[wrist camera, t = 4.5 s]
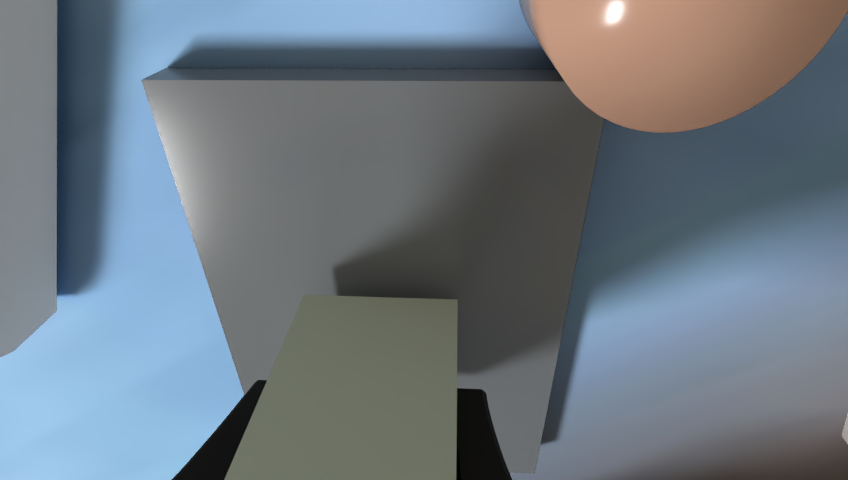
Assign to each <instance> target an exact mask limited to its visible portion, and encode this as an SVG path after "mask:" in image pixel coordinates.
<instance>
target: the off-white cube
mask: <svg viewBox="0 0 848 480" xmlns="http://www.w3.org/2000/svg"><path fill="white" fill-rule="evenodd" d="M842 437H843V438H844V440H845V441H846V442H847V444H848V414H847V418H846V421H845V425H844V429H843V432H842Z"/></svg>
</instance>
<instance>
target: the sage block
mask: <svg viewBox="0 0 848 480" xmlns="http://www.w3.org/2000/svg"><path fill="white" fill-rule="evenodd" d="M457 318H458V300H457V299H424V298H392V297H360V296H328V295H304V296H303V299H302V301H301V303H300V306H299V308H298V310H297V312H296V315H295V317H294V319H293V322H292V324H291V326H290V329H289V331H288V333H287V336H286V338H285V340H284V343H283V345H282V347H281V350H280V352H279V354H278V356H277V359H276V361H275V363H274V366H273V368H272V370H271V373H270V375H269V377H268V380H267V382H266V384H265V387H264V389H263V391H262V394H261V396H260V398H259V400H258V403H257V405H256V407H255V410H254V412H253V414H252V417H251V419H250V421H249V424H248V426H247V428H246V431H245V433H244V435H243V437H242V440H241V442H240V444H239V447H238V449H237V451H236V454H235V456H234V458H233V461H232V463H231V465H230V468H229V470H228V472H227V475H226V477H225V479H224V480H456V456H457Z"/></svg>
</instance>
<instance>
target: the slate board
mask: <svg viewBox="0 0 848 480" xmlns="http://www.w3.org/2000/svg"><path fill="white" fill-rule="evenodd" d="M142 83H143V86H144V89H145V92H146V95H147V98H148V101H149V104H150V107H151V110H152V113H153V116H154V119H155V123H156V126H157V129H158V132H159V135H160V138H161V141H162V144H163V147H164V150H165V153H166V156H167V159H168V162H169V165H170V168H171V171H172V175H173V178H174V181H175V184H176V187H177V190H178V193H179V196H180V199H181V202H182V205H183V208H184V211H185V214H186V217H187V220H188V224H189V227H190V230H191V233H192V236H193V239H194V242H195V245H196V248H197V251H198V254H199V257H200V260H201V263H202V266H203V269H204V272H205V276H206V279H207V282H208V285H209V288H210V291H211V294H212V297H213V300H214V303H215V306H216V309H217V312H218V315H219V318H220V321H221V325H222V328H223V331H224V334H225V337H226V340H227V343H228V346H229V349H230V352H231V355H232V358H233V361H234V364H235V367H236V370H237V373H238V377H239V380H240V383H241V386H242V389H243V392H244V395H245V394H246V393H247V391H248V390H249V389H250V388H251V386H252V385H253V384H254V383H255V382H256V381H257V380H268V377H269V375H270V373H271V370H272V368H273V366H274V363H275V361H276V359H277V356H278V354H279V352H280V350H281V347H282V345H283V343H284V340H285V338H286V336H287V333H288V331H289V329H290V326H291V324H292V322H293V319H294V317H295V315H296V312H297V310H298V308H299V306H300V303H301V301H302V299H303V296H304V295H328V296H360V297H392V298H424V299H457V300H458V318H457V388H465V389H482V390H483V391H485V392H486V395H487V401H488V406H489V411H490V415H491V419H492V423H493V426H494V430H495V433H496V436H497V439H498V442H499V446H500V449H501V452H502V454H503V457H504V460H505V463H506V465H507V468H508V471H509V472H515V473H534V474H535V470H536V465H537V460H538V454H539V449H540V444H541V439H542V434H543V429H544V424H545V419H546V414H547V409H548V403H549V398H550V393H551V388H552V383H553V378H554V373H555V368H556V363H557V357H558V352H559V347H560V342H561V337H562V332H563V327H564V322H565V317H566V312H567V306H568V301H569V296H570V291H571V286H572V281H573V276H574V271H575V266H576V260H577V255H578V250H579V245H580V240H581V235H582V230H583V225H584V220H585V215H586V209H587V204H588V199H589V194H590V189H591V184H592V179H593V174H594V169H595V164H596V158H597V153H598V148H599V143H600V138H601V133H602V128H603V123H604V118H603V117H601V116H599V115H598V114H596V113H595V112H593V111H592V110H591V109H589V108H588V107H587V106H585V105H584V104H583V103H582V102H581V101H580V100H579V99H578V98H577V97H576V96H575V95H574V93H573V92H572V91H571V89H570V88H569V86H568V85H567V84H566V82H565V81H564V80H563V78H562V77H561V75H560V74H559V72H558V71H557V69H180V68H165V69H163V70H161V71H159V72H157V73H155V74H153V75H151V76H149V77H146V78H144V79H142Z"/></svg>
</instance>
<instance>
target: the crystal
mask: <svg viewBox="0 0 848 480" xmlns="http://www.w3.org/2000/svg"><path fill="white" fill-rule="evenodd" d="M56 311H57V0H0V357H2V356H4V355H6V354H8V353H11V352H13V351H14V350H15V349H17V348H18V347H19V346H20V345H21V344H22V343H23V342H24V341H25V340H26V339H27V338H28V337H29V336H30V335H32V334H33V333H34V332H35V331H36V330H37V329H38V328H39V327H40V326H41V325H42V324H43V323H44V322H46V321H47V320H48V319H49V318H50V317H51V316H52V315H53V314H54V313H55V312H56Z"/></svg>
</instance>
